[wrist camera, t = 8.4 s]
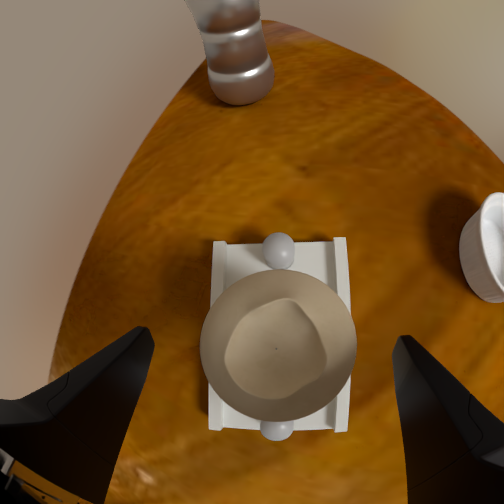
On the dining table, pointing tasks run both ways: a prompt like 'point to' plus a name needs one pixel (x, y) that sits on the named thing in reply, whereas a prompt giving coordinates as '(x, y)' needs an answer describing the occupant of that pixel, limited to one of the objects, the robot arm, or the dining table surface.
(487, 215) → the ramekin
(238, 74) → the plastic bottle
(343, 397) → the tray
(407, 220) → the dining table surface
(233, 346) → the candle
